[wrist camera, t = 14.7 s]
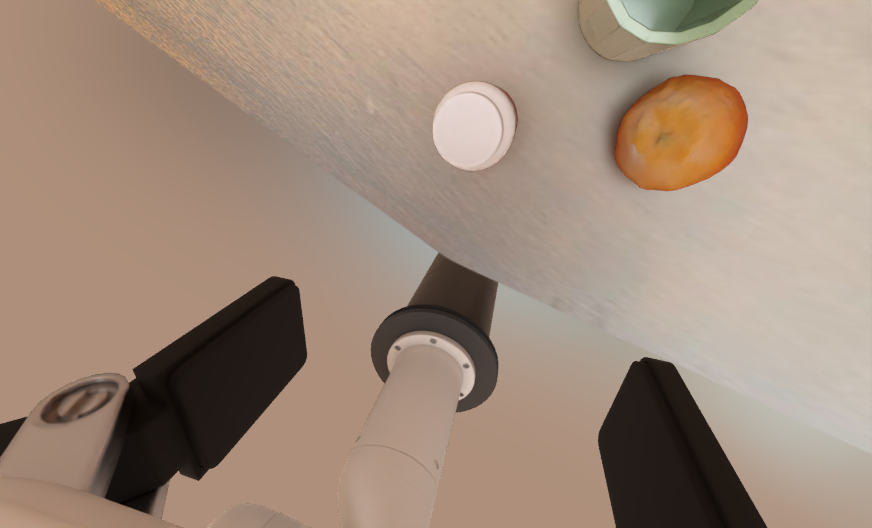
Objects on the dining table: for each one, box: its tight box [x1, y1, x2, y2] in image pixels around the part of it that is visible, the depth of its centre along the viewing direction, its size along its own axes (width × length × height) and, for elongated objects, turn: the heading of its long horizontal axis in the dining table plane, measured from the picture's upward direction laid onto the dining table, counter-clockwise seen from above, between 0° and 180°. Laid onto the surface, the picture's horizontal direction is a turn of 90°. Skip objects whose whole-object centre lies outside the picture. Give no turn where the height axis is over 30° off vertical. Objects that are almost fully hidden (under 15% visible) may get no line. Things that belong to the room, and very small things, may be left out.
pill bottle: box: [433, 81, 518, 171], centre depth 26 cm, size 6×6×11 cm
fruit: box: [615, 75, 748, 191], centre depth 25 cm, size 8×8×8 cm
